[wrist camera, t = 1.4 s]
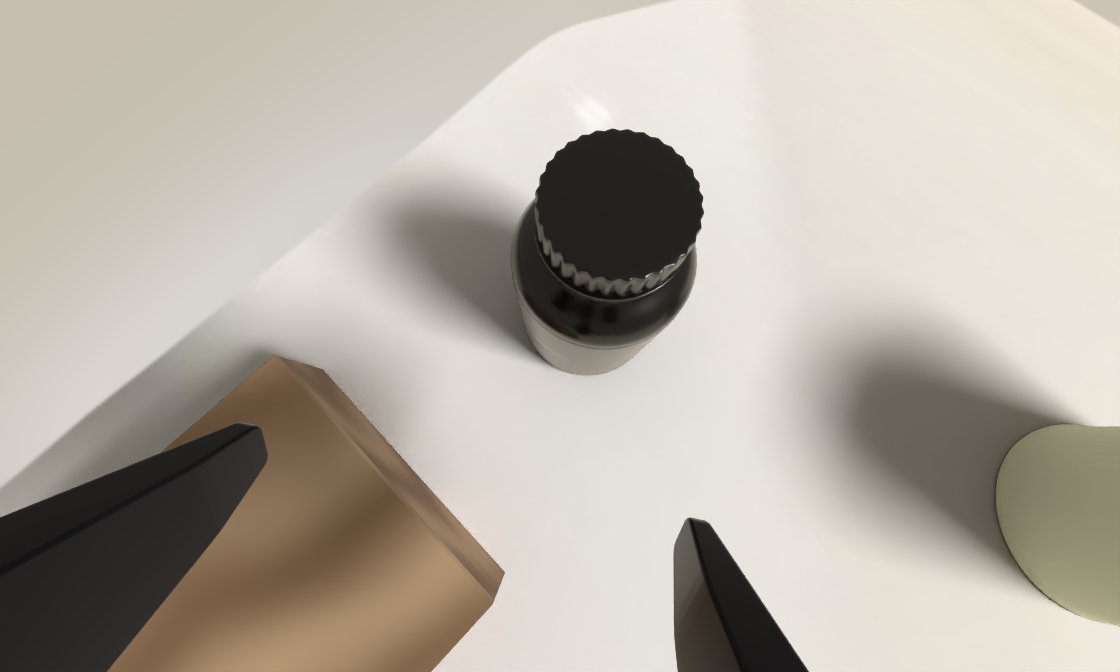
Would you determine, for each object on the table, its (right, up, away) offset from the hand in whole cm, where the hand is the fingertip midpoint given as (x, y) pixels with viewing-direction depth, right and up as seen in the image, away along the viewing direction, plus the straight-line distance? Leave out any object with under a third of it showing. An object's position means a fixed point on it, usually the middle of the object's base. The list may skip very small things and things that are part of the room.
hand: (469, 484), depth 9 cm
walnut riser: (-11, -8, +11) cm, 18 cm away
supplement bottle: (+3, +4, +15) cm, 16 cm away
